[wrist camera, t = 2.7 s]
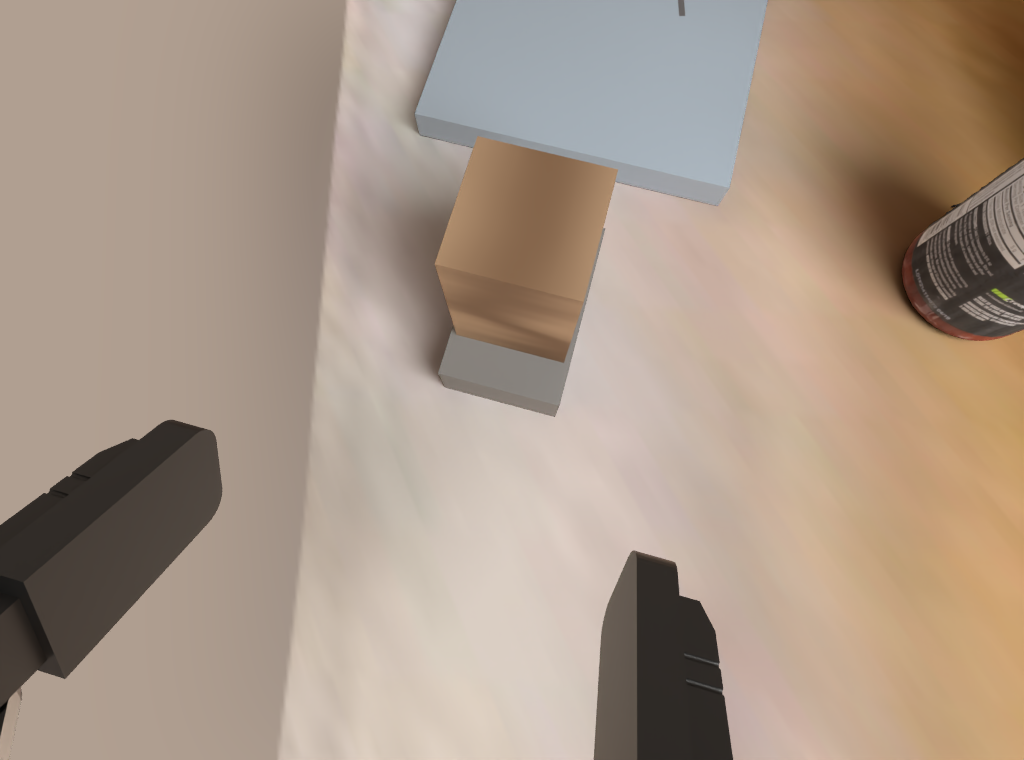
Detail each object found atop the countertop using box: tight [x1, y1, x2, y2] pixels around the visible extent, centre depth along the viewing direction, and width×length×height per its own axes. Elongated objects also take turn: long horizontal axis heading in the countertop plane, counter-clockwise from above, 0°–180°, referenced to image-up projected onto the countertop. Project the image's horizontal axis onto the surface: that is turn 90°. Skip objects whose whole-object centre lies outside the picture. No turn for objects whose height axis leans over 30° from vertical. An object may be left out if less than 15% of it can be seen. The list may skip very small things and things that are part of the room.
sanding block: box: [435, 136, 618, 417], centre depth 21 cm, size 5×8×9 cm, turn 165°
